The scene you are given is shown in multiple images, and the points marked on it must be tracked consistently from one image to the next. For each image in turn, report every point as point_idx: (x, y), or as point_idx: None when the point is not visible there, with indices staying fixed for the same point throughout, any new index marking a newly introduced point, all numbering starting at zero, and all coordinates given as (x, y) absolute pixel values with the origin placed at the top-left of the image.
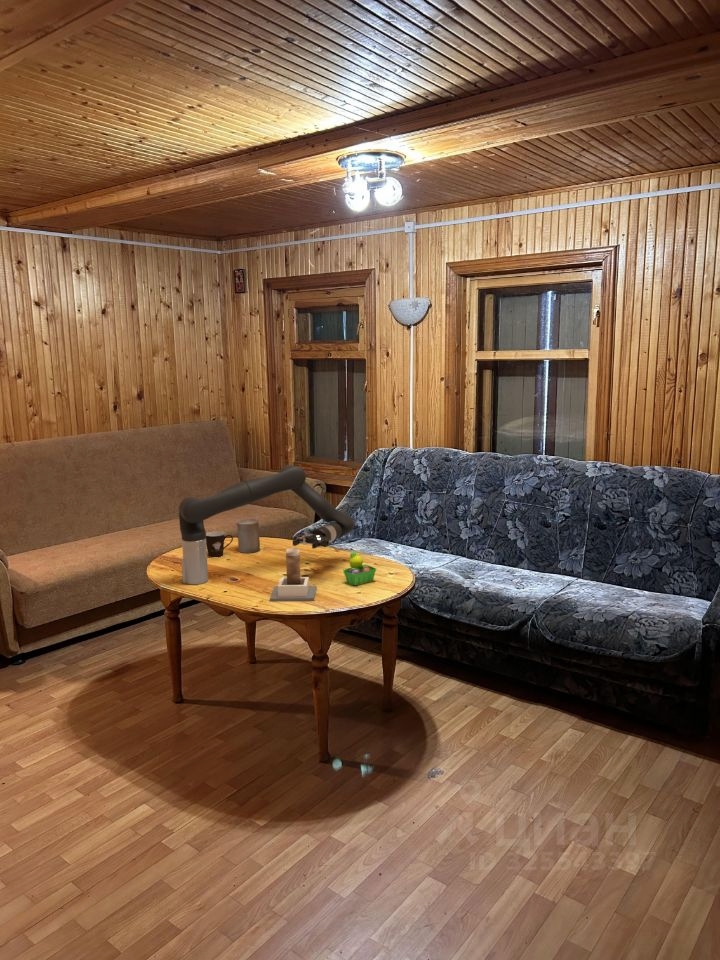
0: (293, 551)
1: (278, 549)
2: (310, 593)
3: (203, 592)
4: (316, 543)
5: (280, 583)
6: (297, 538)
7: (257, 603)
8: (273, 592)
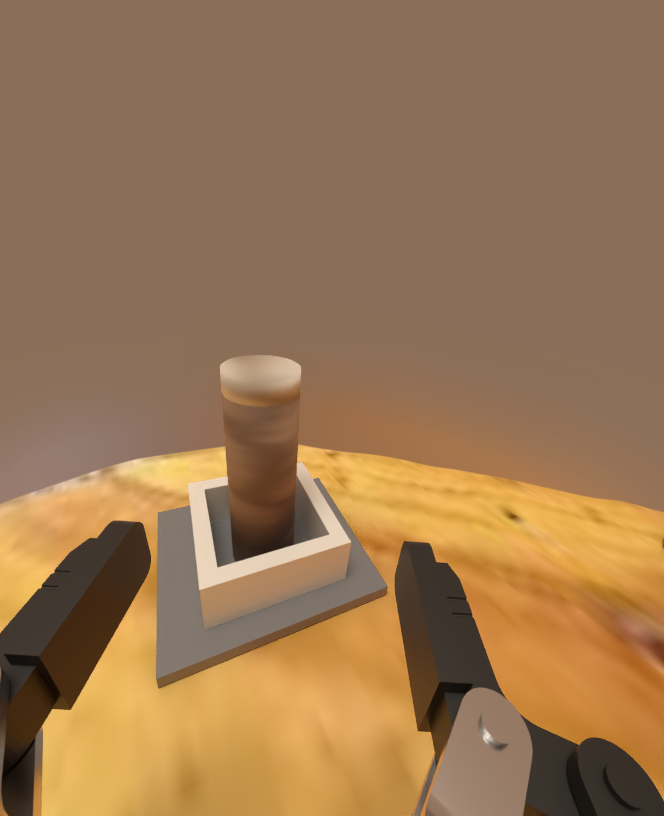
0: (248, 358)
1: None
2: (180, 550)
3: (551, 494)
4: (70, 566)
5: (307, 483)
6: (484, 693)
7: (342, 467)
8: (340, 521)
